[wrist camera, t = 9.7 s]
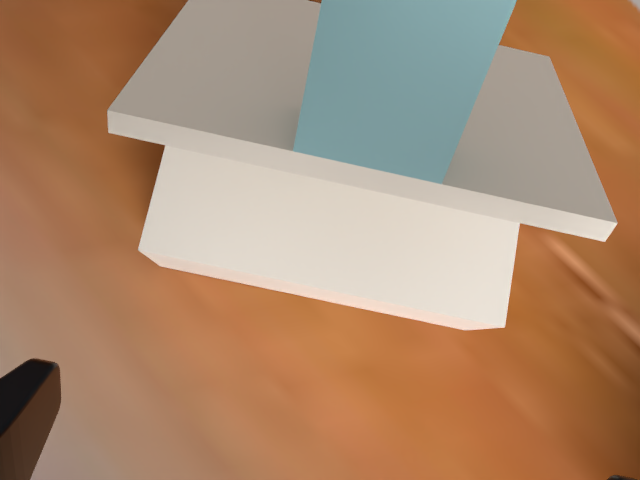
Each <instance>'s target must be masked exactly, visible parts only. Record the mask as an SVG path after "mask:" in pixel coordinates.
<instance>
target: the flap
mask: <svg viewBox="0 0 640 480" xmlns="http://www.w3.org/2000/svg"><path fill="white" fill-rule="evenodd" d="M516 1H517V0H322V2H321V3H317V2H313V1H308V0H188V2H187V3H186V4H185V6H184V7H183V8H182V10H181V11H180V12H179V14H178V15H177V16H176V18H175V19H174V20H173V22H172V23H171V25H170V26H169V27H168V29H167V30H166V31H165V33H164V34H163V35H162V37H161V38H160V39H159V41H158V42H157V44H156V45H155V46H154V48H153V49H152V50H151V52H150V53H149V54H148V56H147V57H146V58H145V60H144V61H143V62H142V64H141V65H140V67H139V68H138V69H137V71H136V72H135V73H134V75H133V76H132V77H131V79H130V80H129V81H128V83H127V84H126V85H125V87H124V88H123V90H122V91H121V92H120V94H119V95H118V96H117V98H116V99H115V100H114V102H113V103H112V104H111V106H110V107H109V109H108V110H107V115H108V133H112V134H116V135H121V136H126V137H130V138H135V139H139V140H144V141H148V142H153V143H157V144H162V145H167V146H171V147H176V148H180V149H185V150H189V151H194V152H198V153H203V154H207V155H212V156H217V157H221V158H226V159H230V160H235V161H239V162H244V163H248V164H253V165H258V166H262V167H267V168H271V169H276V170H280V171H285V172H289V173H294V174H299V175H303V176H308V177H312V178H317V179H321V180H326V181H330V182H335V183H340V184H344V185H349V186H353V187H358V188H362V189H367V190H371V191H376V192H381V193H385V194H390V195H394V196H399V197H403V198H408V199H412V200H417V201H421V202H426V203H431V204H435V205H440V206H444V207H449V208H453V209H458V210H462V211H467V212H472V213H476V214H481V215H485V216H490V217H494V218H499V219H503V220H508V221H513V222H517V223H522V224H526V225H531V226H535V227H540V228H544V229H549V230H554V231H558V232H563V233H567V234H572V235H576V236H581V237H585V238H590V239H595V240H599V241H604V242H605V241H606V239H607V238H608V236H609V235H610V234H611V232H612V231H613V229H614V228H615V226H616V225H617V220H616V218H615V215H614V213H613V211H612V208H611V206H610V203H609V201H608V198H607V196H606V194H605V191H604V189H603V186H602V184H601V181H600V179H599V176H598V174H597V172H596V169H595V167H594V164H593V162H592V159H591V157H590V155H589V152H588V150H587V147H586V145H585V142H584V140H583V138H582V135H581V133H580V130H579V128H578V125H577V123H576V120H575V118H574V116H573V113H572V111H571V108H570V106H569V103H568V101H567V99H566V96H565V94H564V91H563V89H562V86H561V84H560V81H559V79H558V77H557V74H556V72H555V69H554V67H553V64H552V62H551V60H550V57H548V56H544V55H540V54H535V53H531V52H527V51H523V50H518V49H514V48H510V47H505V46H501V45H499V43H500V40H501V38H502V35H503V33H504V30H505V28H506V25H507V23H508V21H509V18H510V16H511V13H512V11H513V8H514V6H515V3H516Z"/></svg>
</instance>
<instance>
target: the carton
mask: <svg viewBox="0 0 640 480" xmlns="http://www.w3.org/2000/svg"><path fill="white" fill-rule="evenodd" d="M519 225H520V223H517V222H513V221H508V220H503V219H499V218H494V217H490V216H485V215H481V214H476V213H472V212H467V211H462V210H458V209H453V208H449V207H444V206H440V205H435V204H431V203H426V202H421V201H417V200H412V199H408V198H403V197H399V196H394V195H390V194H385V193H381V192H376V191H371V190H367V189H362V188H358V187H353V186H349V185H344V184H340V183H335V182H330V181H326V180H321V179H317V178H312V177H308V176H303V175H299V174H294V173H289V172H285V171H280V170H276V169H271V168H267V167H262V166H258V165H253V164H248V163H244V162H239V161H235V160H230V159H226V158H221V157H217V156H212V155H207V154H203V153H198V152H194V151H189V150H185V149H180V148H176V147H171V146H167V145H165V149H164V153H163V156H162V160H161V164H160V168H159V172H158V176H157V179H156V183H155V187H154V191H153V195H152V198H151V202H150V206H149V210H148V214H147V217H146V221H145V225H144V229H143V233H142V236H141V240H140V244H139V248H138V250H139V251H140V252H141V253H143V254H144V255H146V256H147V257H148V258H150V259H151V260H152V261H154V262H155V263H156V264H158V265H159V266H161V267H166V268H171V269H176V270H180V271H185V272H190V273H195V274H199V275H204V276H209V277H214V278H218V279H223V280H228V281H233V282H238V283H242V284H247V285H252V286H257V287H261V288H266V289H271V290H276V291H280V292H285V293H290V294H295V295H299V296H304V297H309V298H314V299H318V300H323V301H328V302H333V303H337V304H342V305H347V306H352V307H357V308H361V309H366V310H371V311H376V312H380V313H385V314H390V315H395V316H399V317H404V318H409V319H414V320H418V321H423V322H428V323H433V324H437V325H442V326H447V327H452V328H457V329H461V330H477V329H490V328H503V327H505V323H506V316H507V309H508V302H509V295H510V288H511V281H512V274H513V267H514V260H515V253H516V246H517V239H518V232H519Z"/></svg>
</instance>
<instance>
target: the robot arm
mask: <svg viewBox="0 0 640 480" xmlns="http://www.w3.org/2000/svg"><path fill="white" fill-rule="evenodd" d="M60 403H61V383H60V368H59V366H58V364H57V363H55V362H51V361H46V360H41V359H30V360H28V361H26V362H24V363H23V364H21V365H20V366H18V367H17V368H15V369H14V370H12V371H11V372H9V373H8V374H6V375H5V376H3V377H2V378H0V480H30V478H31V476H32V473H33V471H34V469H35V466H36V464H37V461H38V459H39V457H40V454H41V452H42V450H43V447H44V445H45V442H46V440H47V438H48V435H49V433H50V430H51V428H52V426H53V423H54V421H55V418H56V416H57V414H58V411H59V408H60ZM607 480H637V479H634V478H630V477H625V476H620V475H613V476H610V477H609V478H608V479H607Z"/></svg>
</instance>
